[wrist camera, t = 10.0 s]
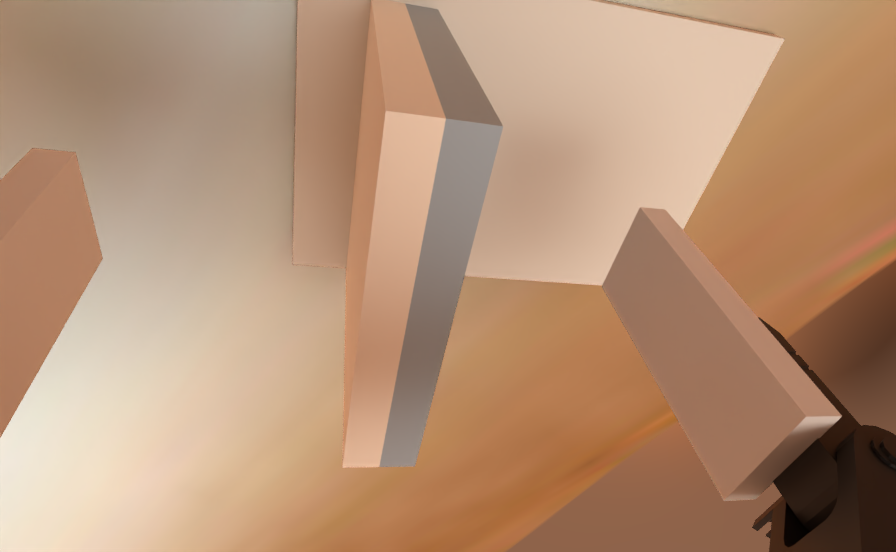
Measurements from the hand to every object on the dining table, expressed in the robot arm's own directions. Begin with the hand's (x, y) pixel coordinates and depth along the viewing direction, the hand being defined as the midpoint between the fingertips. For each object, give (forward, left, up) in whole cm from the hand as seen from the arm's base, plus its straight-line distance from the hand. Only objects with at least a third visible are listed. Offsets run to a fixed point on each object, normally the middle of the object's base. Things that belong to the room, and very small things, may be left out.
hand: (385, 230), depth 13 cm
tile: (+1, 0, -6) cm, 6 cm away
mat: (0, +5, -7) cm, 9 cm away
